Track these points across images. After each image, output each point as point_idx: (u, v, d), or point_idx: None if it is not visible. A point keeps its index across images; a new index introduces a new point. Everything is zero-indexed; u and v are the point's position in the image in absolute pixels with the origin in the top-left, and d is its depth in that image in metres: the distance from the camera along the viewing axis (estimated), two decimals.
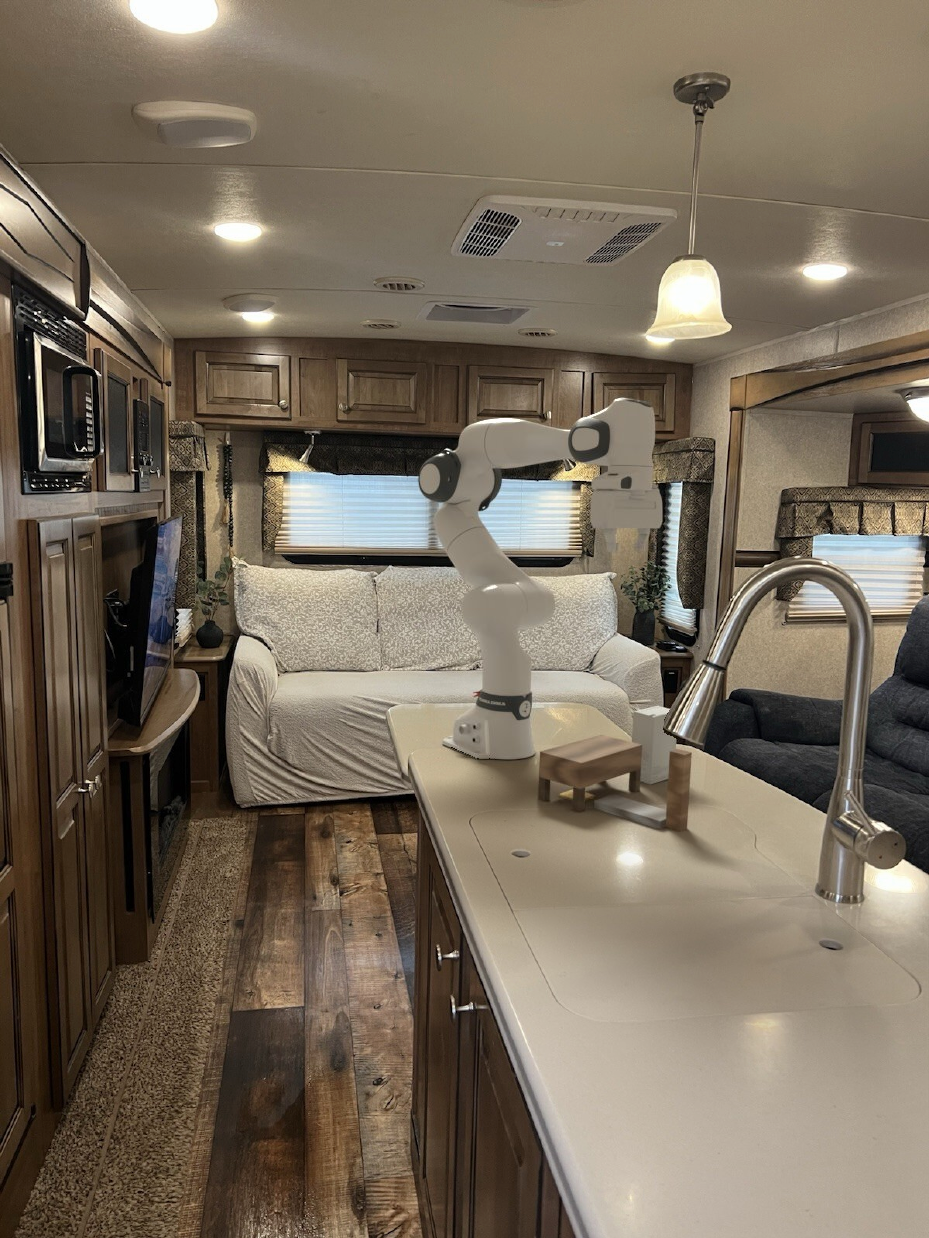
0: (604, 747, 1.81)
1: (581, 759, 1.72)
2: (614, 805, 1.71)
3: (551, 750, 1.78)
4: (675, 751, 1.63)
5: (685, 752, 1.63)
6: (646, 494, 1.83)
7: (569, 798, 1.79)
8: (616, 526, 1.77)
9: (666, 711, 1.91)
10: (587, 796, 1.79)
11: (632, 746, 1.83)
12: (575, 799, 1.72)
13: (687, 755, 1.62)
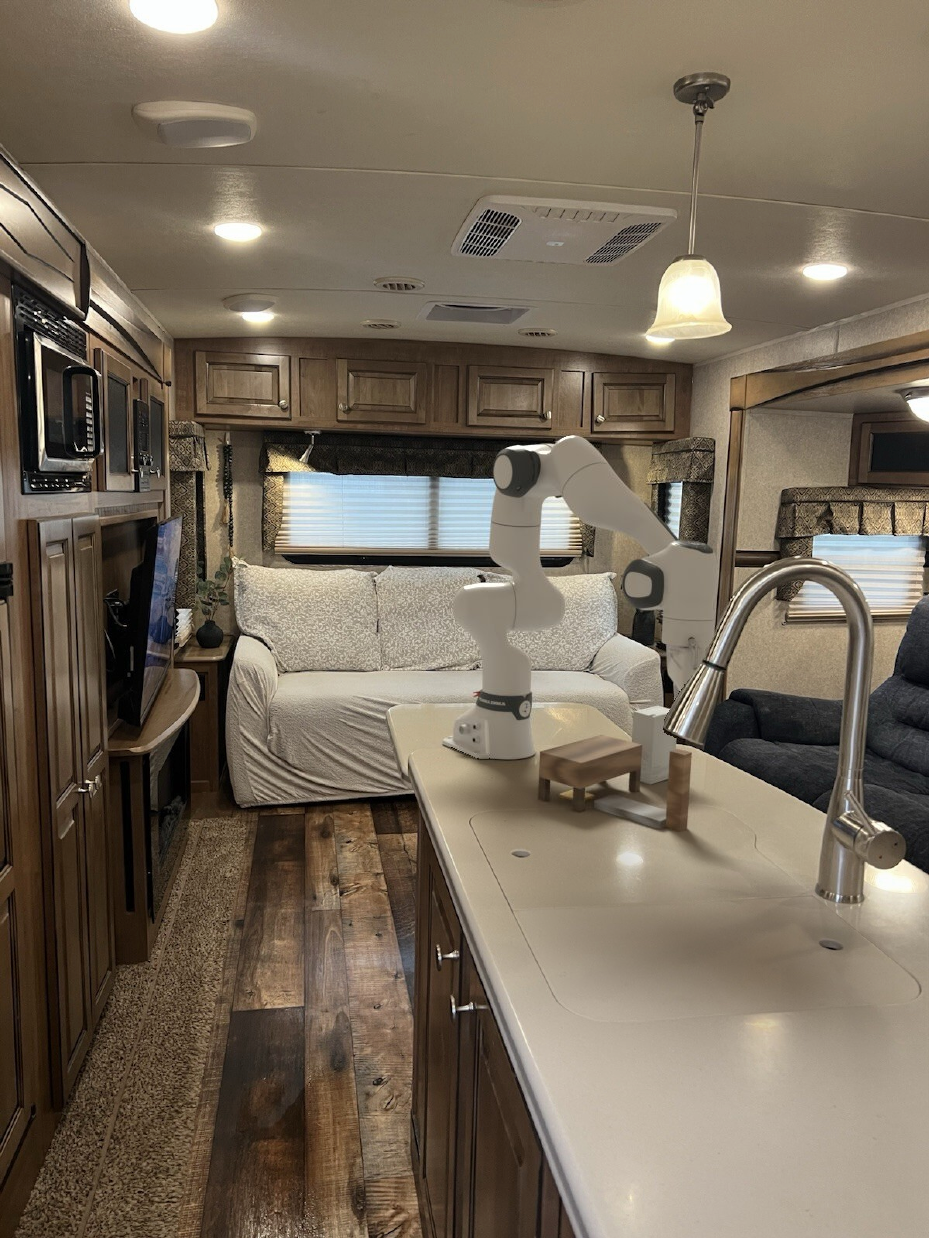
0: (604, 747, 1.81)
1: (581, 759, 1.72)
2: (614, 805, 1.71)
3: (551, 750, 1.78)
4: (675, 751, 1.63)
5: (685, 752, 1.63)
6: (679, 650, 1.57)
7: (569, 798, 1.78)
8: (670, 676, 1.68)
9: (666, 711, 1.91)
10: (587, 796, 1.80)
11: (632, 746, 1.83)
12: (575, 799, 1.72)
13: (687, 755, 1.62)
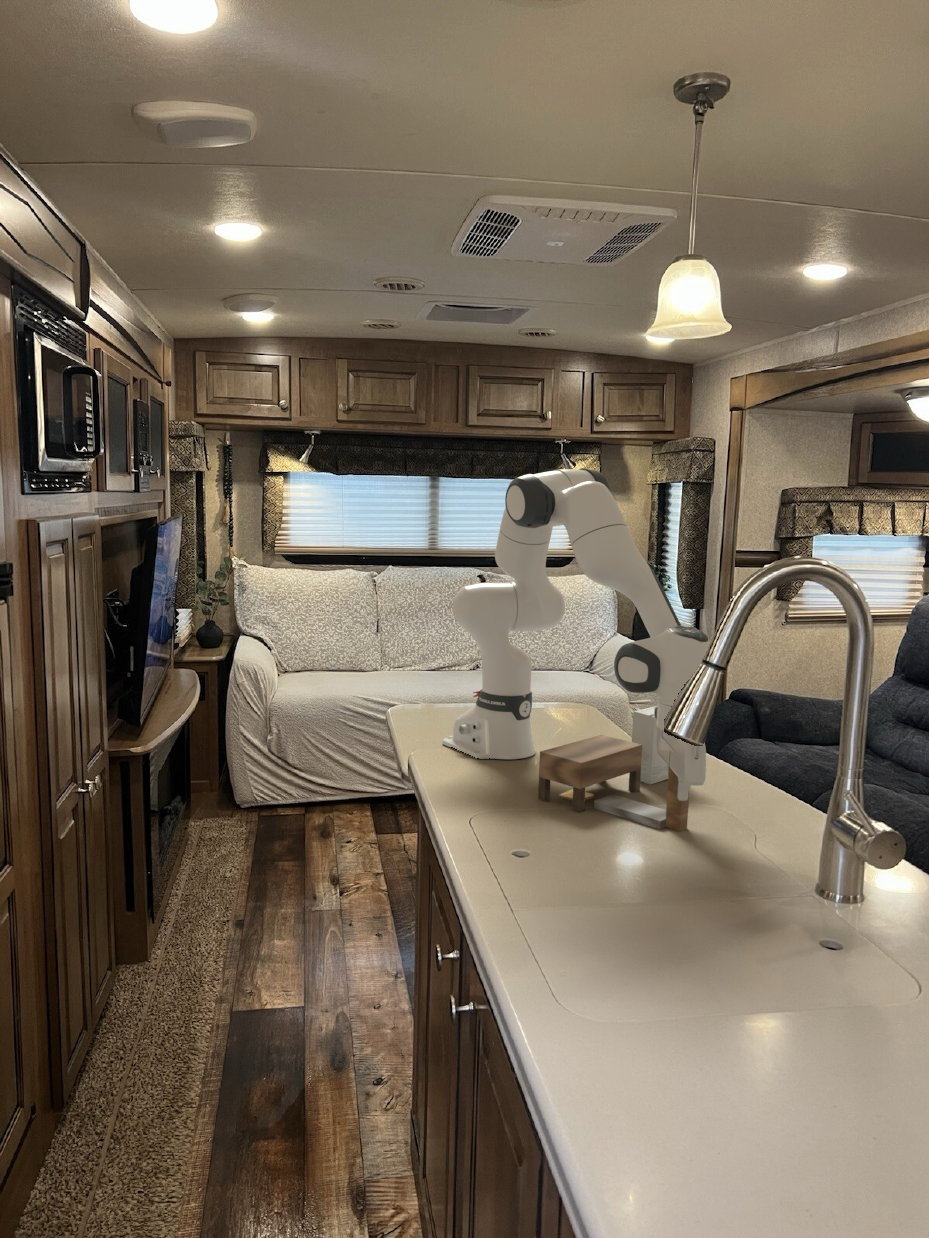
0: (604, 747, 1.81)
1: (581, 759, 1.72)
2: (614, 805, 1.71)
3: (551, 750, 1.78)
4: None
5: None
6: None
7: (570, 798, 1.78)
8: (661, 757, 1.69)
9: None
10: (587, 796, 1.80)
11: (632, 746, 1.83)
12: (575, 799, 1.72)
13: None
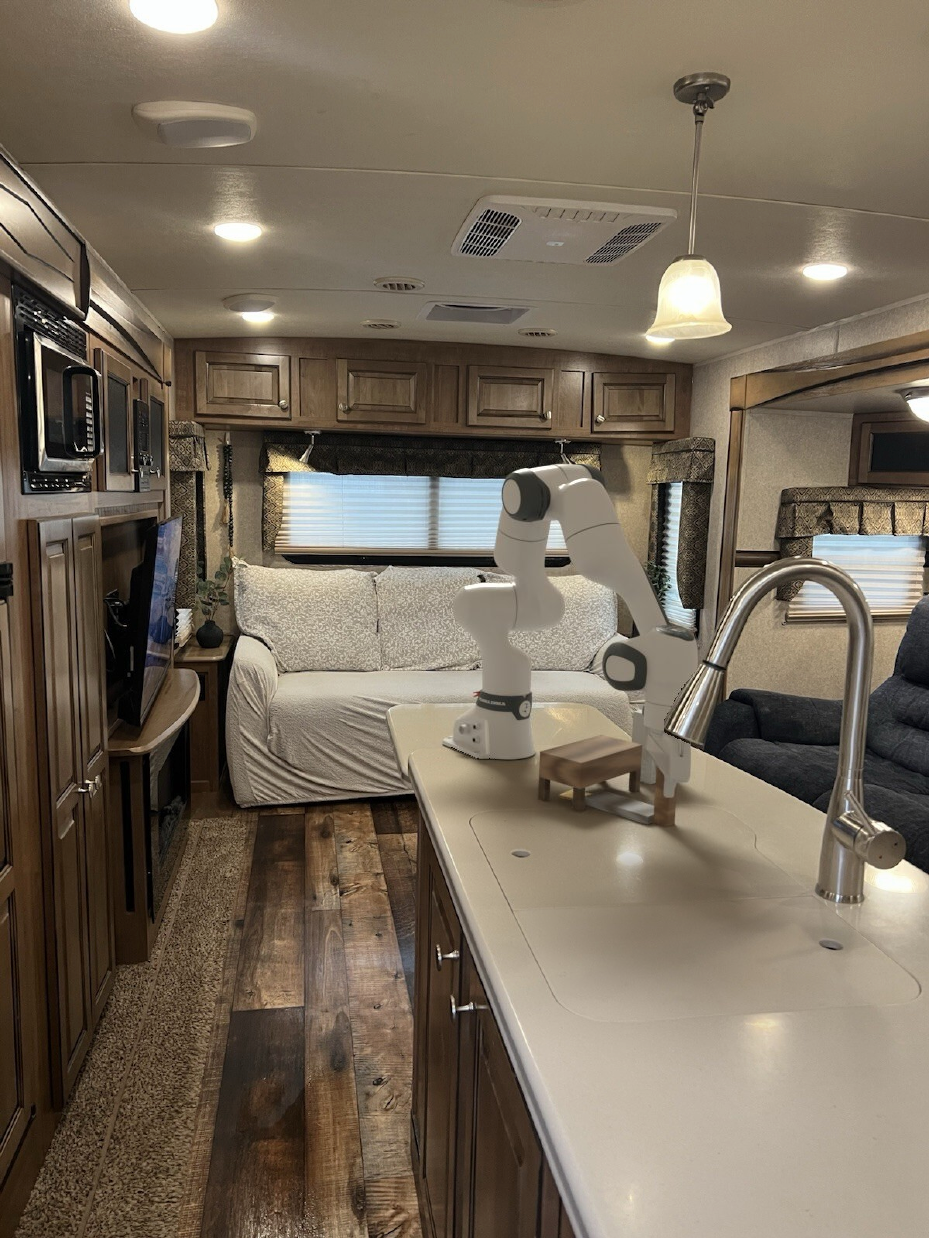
0: (604, 747, 1.81)
1: (581, 759, 1.72)
2: (603, 801, 1.73)
3: (551, 750, 1.78)
4: None
5: None
6: (662, 734, 1.61)
7: (570, 798, 1.78)
8: (649, 754, 1.72)
9: None
10: None
11: (632, 746, 1.83)
12: (575, 799, 1.72)
13: None
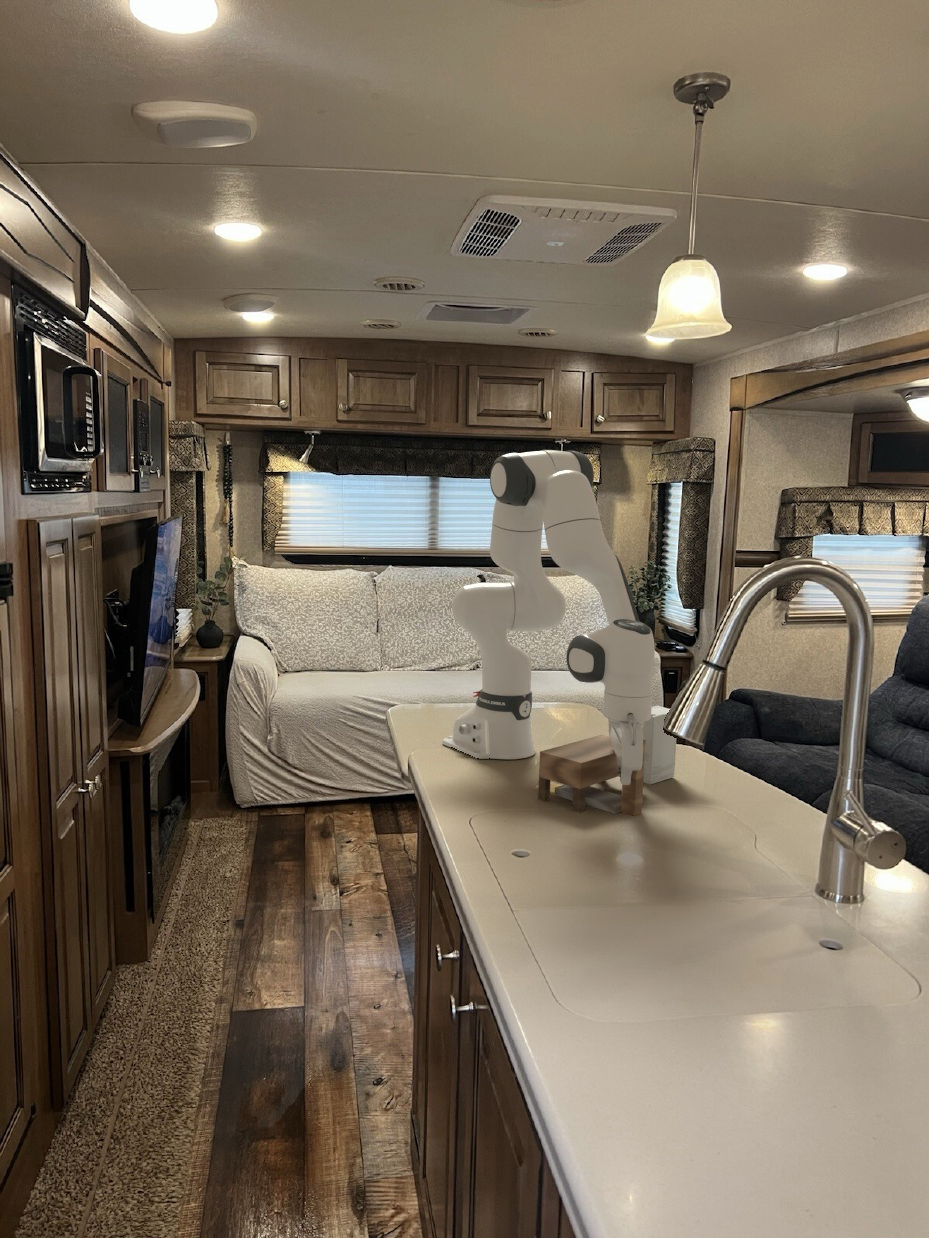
0: (604, 747, 1.81)
1: (581, 759, 1.72)
2: None
3: (551, 750, 1.78)
4: None
5: None
6: (619, 724, 1.68)
7: None
8: None
9: (666, 711, 1.91)
10: None
11: None
12: (575, 799, 1.72)
13: None
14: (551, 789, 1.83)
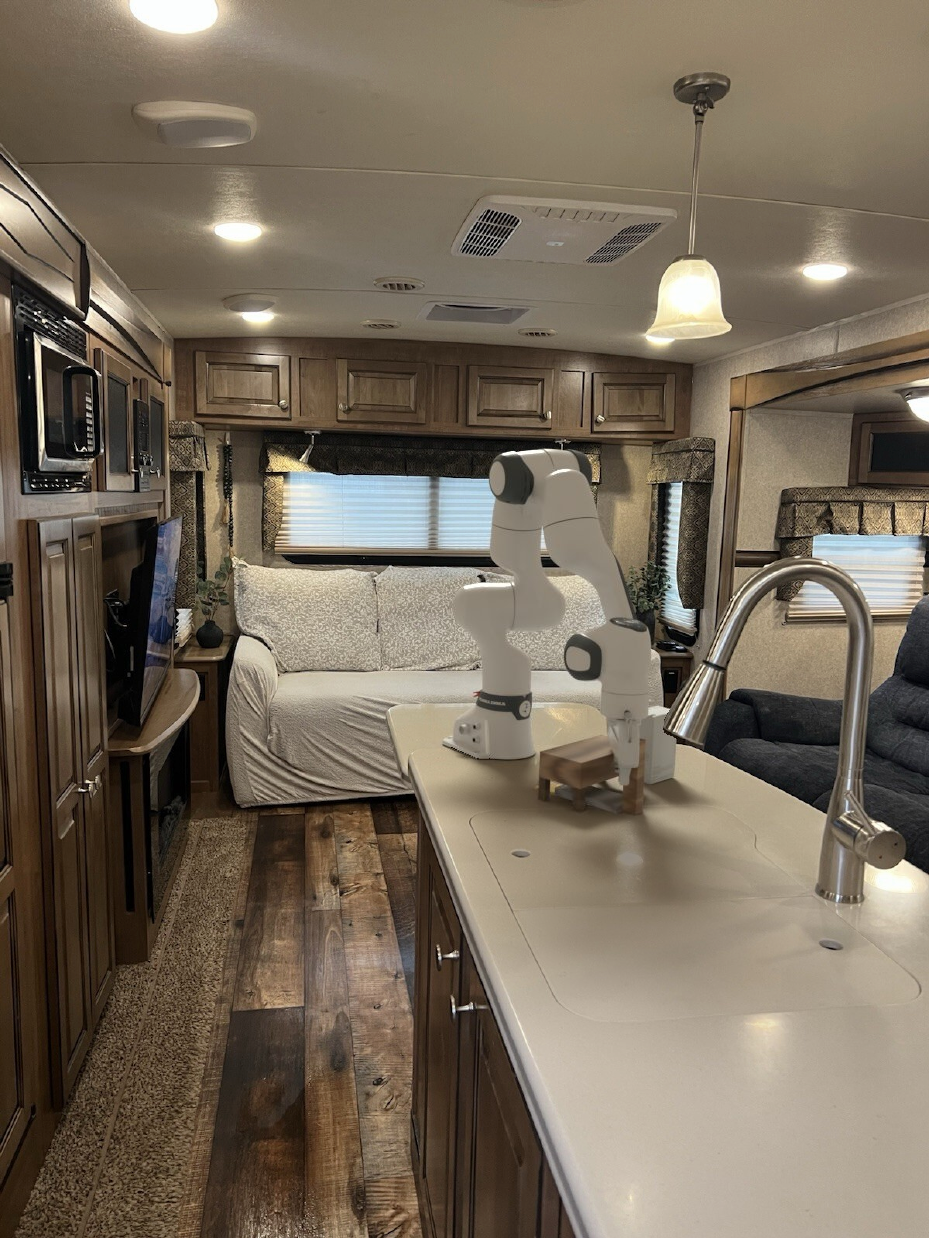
0: (604, 747, 1.81)
1: (581, 759, 1.72)
2: None
3: (551, 750, 1.78)
4: None
5: (639, 739, 1.70)
6: (616, 722, 1.68)
7: None
8: (609, 742, 1.78)
9: (666, 711, 1.91)
10: None
11: None
12: (575, 799, 1.72)
13: (641, 742, 1.69)
14: (551, 789, 1.83)
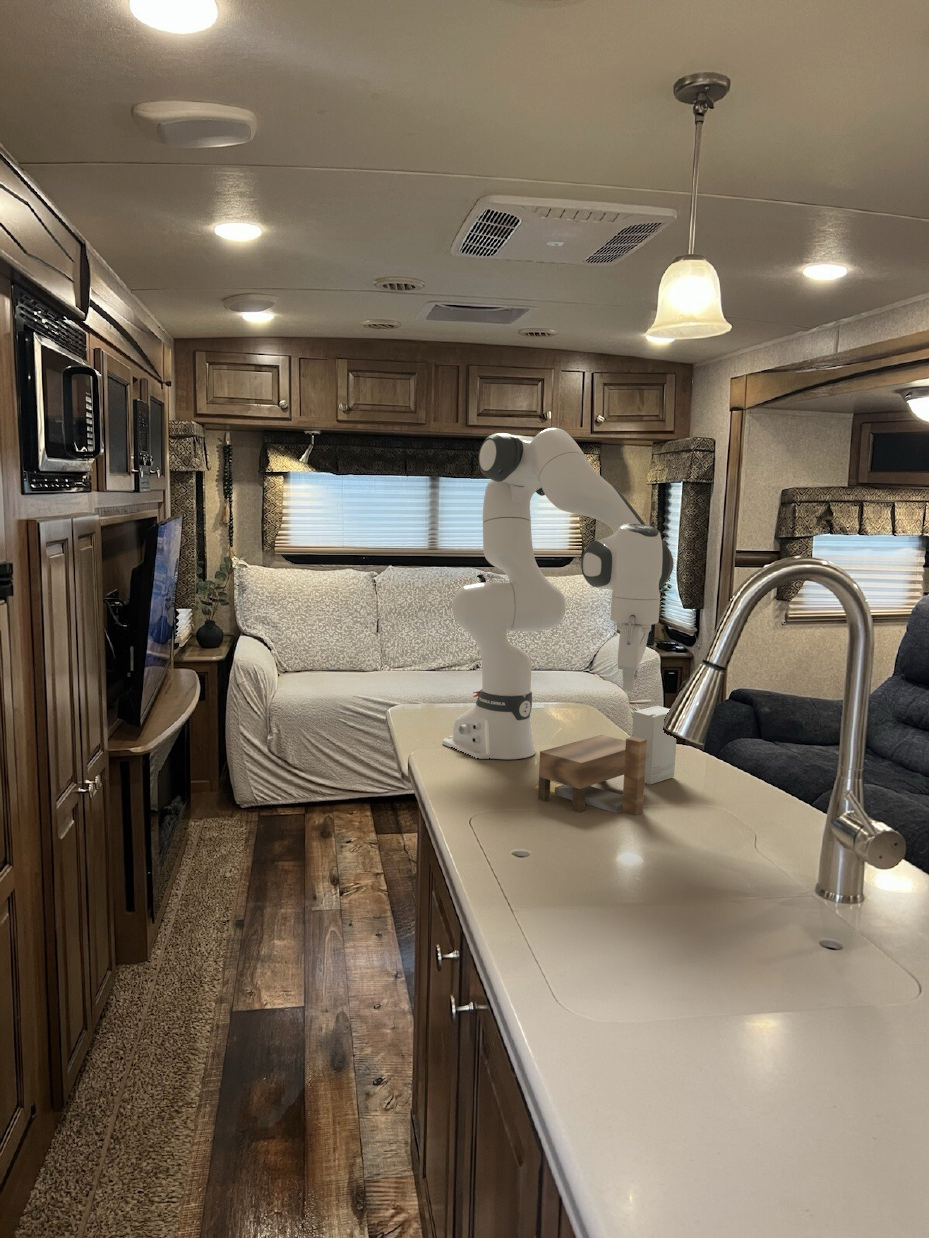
0: (604, 747, 1.81)
1: (581, 759, 1.72)
2: None
3: (551, 750, 1.78)
4: (631, 738, 1.71)
5: (640, 739, 1.71)
6: None
7: None
8: None
9: (666, 711, 1.91)
10: None
11: None
12: (575, 799, 1.72)
13: (642, 742, 1.70)
14: (551, 789, 1.83)
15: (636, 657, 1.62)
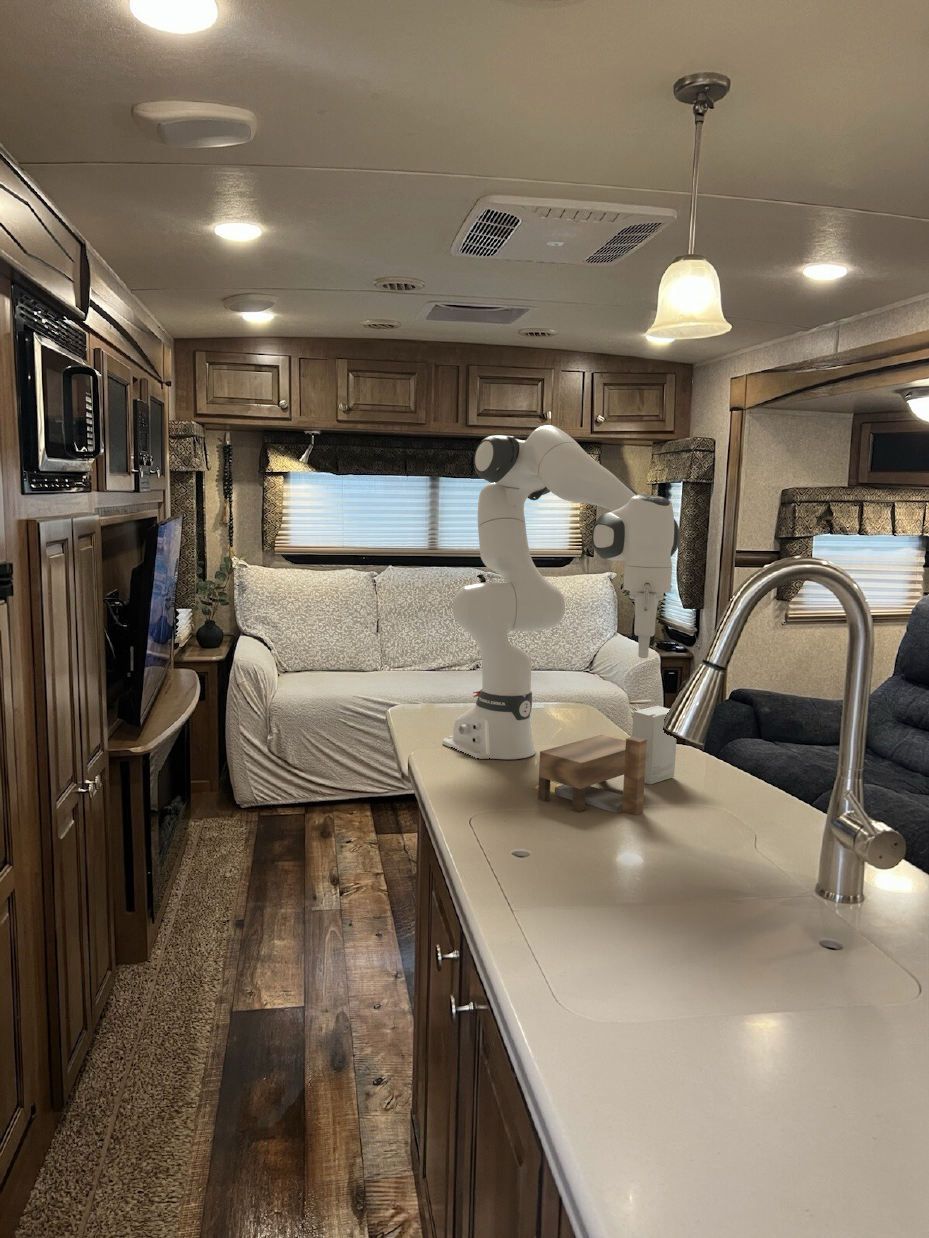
0: (604, 747, 1.81)
1: (581, 759, 1.72)
2: None
3: (551, 750, 1.78)
4: (631, 738, 1.71)
5: (640, 739, 1.71)
6: None
7: None
8: None
9: (666, 711, 1.91)
10: None
11: None
12: (575, 799, 1.72)
13: (642, 742, 1.70)
14: (551, 789, 1.83)
15: (653, 623, 1.65)
